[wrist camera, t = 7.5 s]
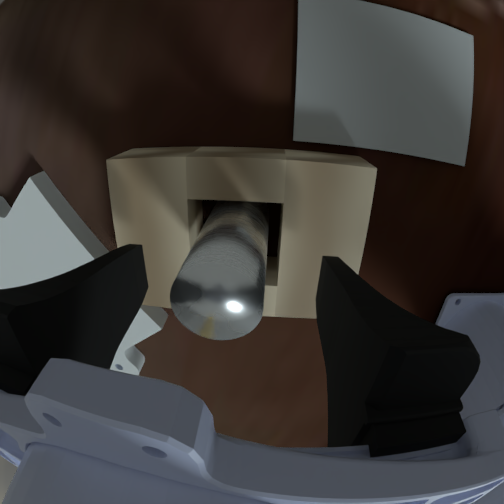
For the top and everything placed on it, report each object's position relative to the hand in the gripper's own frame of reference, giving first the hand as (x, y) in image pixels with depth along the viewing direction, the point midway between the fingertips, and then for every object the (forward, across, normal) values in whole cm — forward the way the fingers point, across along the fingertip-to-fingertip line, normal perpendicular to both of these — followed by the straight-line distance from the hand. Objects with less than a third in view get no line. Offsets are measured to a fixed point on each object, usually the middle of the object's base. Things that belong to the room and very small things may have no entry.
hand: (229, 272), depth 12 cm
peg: (+5, 0, 0) cm, 5 cm away
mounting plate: (+6, +14, +6) cm, 16 cm away
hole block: (+5, 0, 0) cm, 5 cm away
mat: (+5, -7, -9) cm, 13 cm away
